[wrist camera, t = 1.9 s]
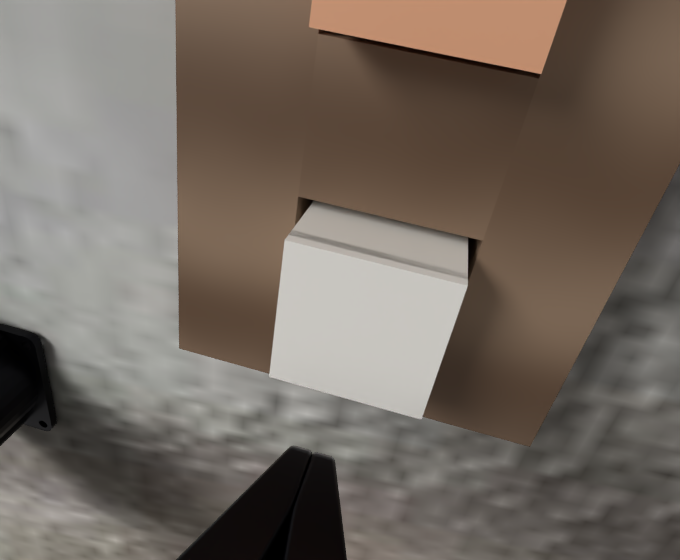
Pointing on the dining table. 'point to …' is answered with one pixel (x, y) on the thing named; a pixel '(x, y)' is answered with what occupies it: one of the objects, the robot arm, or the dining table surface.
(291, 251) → the button
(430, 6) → the button
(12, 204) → the dining table surface
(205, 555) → the robot arm
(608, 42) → the panel
